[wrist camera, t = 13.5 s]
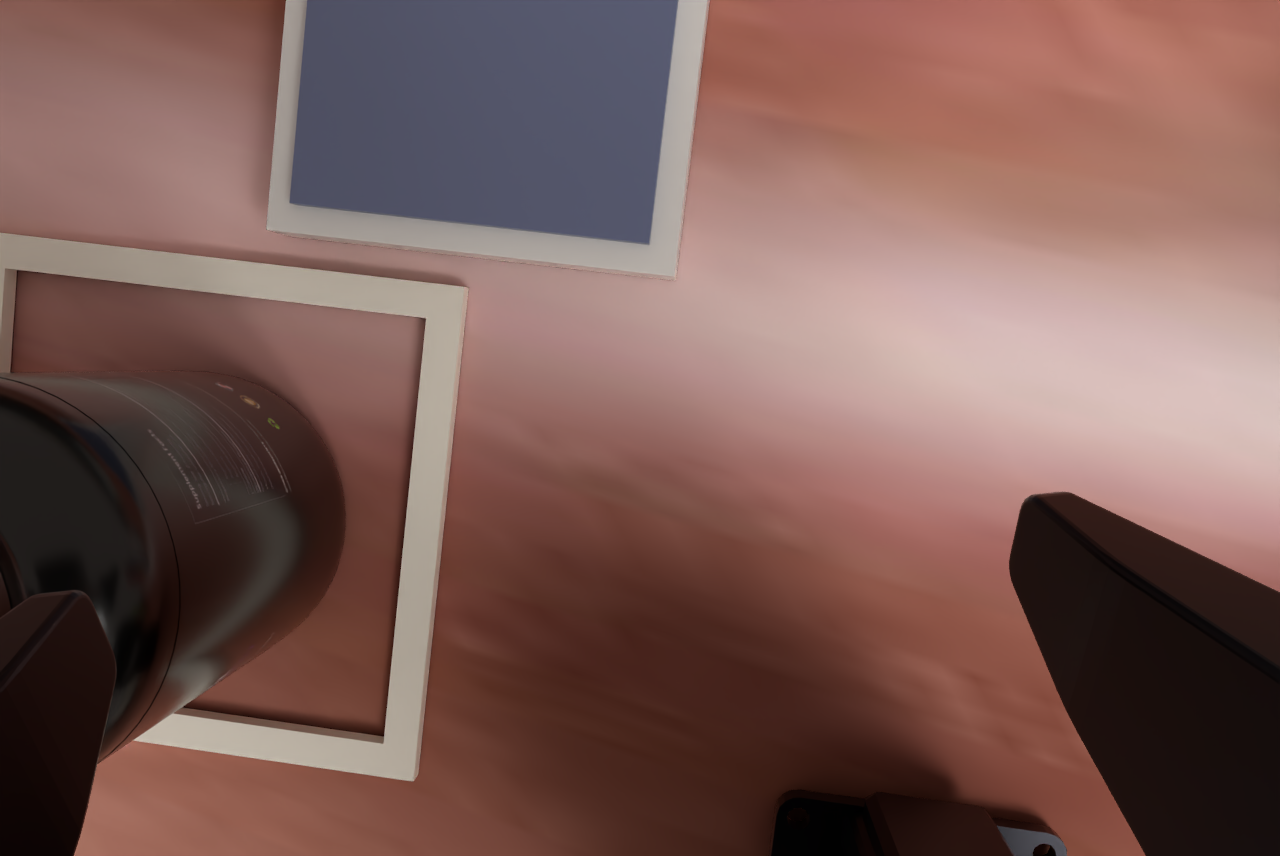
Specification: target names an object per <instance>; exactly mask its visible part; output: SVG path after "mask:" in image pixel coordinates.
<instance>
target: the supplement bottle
mask: <svg viewBox="0 0 1280 856" xmlns="http://www.w3.org/2000/svg"><path fill="white" fill-rule="evenodd" d="M345 529H346V512H345V500H344V495H343V490H342V485H341V481H340V478H339V475H338V472H337V469H336V466H335V464H334V461H333V459H332V457H331V455H330V453H329V451H328V449H327V447H326V446H325V444H324V443H323V441H322V439H321V438H320V436H319V435H318V434H317V432H316V431H315V430H314V428H313V427H312V426H311V425H310V423H309V422H308V421H307V420H306V419H305V418H304V417H303V416H302V415H301V414H300V413H299V412H298V411H297V410H295V409H294V408H293V407H292V406H291V405H290V404H288V403H287V402H286V401H284V400H283V399H281V398H280V397H279V396H277V395H276V394H274V393H272V392H270V391H269V390H267V389H265V388H263V387H261V386H259V385H257V384H255V383H252V382H250V381H247V380H244V379H241V378H238V377H234V376H230V375H225V374H220V373H212V372H202V371H95V372H10V373H0V618H1V617H2V616H3V615H5V614H6V613H8V612H9V611H10V610H12V609H13V608H15V607H16V606H18V605H19V604H20V603H22V602H23V601H25V600H26V599H28V598H29V597H31V596H33V595H36V594H40V593H49V592H59V591H69V590H79V591H82V592H84V593H86V595H87V596H88V597H89V598H90V599H91V601H92V603H93V605H94V607H95V610H96V612H97V615H98V617H99V619H100V622H101V624H102V626H103V629H104V631H105V633H106V636H107V638H108V640H109V643H110V645H111V648H112V650H113V653H114V656H115V660H116V680H115V686H114V690H113V695H112V699H111V704H110V708H109V713H108V717H107V722H106V726H105V731H104V735H103V740H102V744H101V749H100V753H99V758H98V762H97V764H98V763H100V762H101V761H103V760H104V759H106V758H107V757H109V756H110V755H112V754H113V753H115V752H116V751H118V750H119V749H121V748H122V747H124V746H125V745H127V744H128V743H130V742H131V741H133V740H134V739H136V738H137V737H139V736H140V735H142V734H143V733H145V732H146V731H148V730H149V729H151V728H152V727H154V726H155V725H156V724H158V723H159V722H161V721H162V720H164V719H165V718H167V717H168V716H170V715H171V714H173V713H174V712H176V711H177V710H179V709H180V708H182V707H183V706H185V705H186V704H188V703H189V702H191V701H192V700H194V699H195V698H197V697H198V696H199V695H201V694H202V693H204V692H205V691H207V690H208V689H210V688H211V687H213V686H214V685H216V684H217V683H219V682H220V681H222V680H223V679H225V678H226V677H228V676H229V675H231V674H232V673H234V672H235V671H237V670H238V669H240V668H241V667H243V666H244V665H245V664H247V663H248V662H250V661H251V660H253V659H254V658H256V657H257V656H259V655H260V654H262V653H263V652H265V651H266V650H268V649H269V648H270V647H272V646H273V645H274V644H276V643H277V642H279V641H280V640H281V639H283V638H284V637H285V636H287V635H288V634H289V633H290V632H292V631H293V630H294V629H295V628H296V627H298V626H299V625H300V624H301V623H302V622H303V621H304V620H305V619H306V618H307V617H308V616H309V615H310V613H311V612H312V611H313V610H314V609H315V608H316V606H317V605H318V604H319V602H320V601H321V599H322V598H323V596H324V595H325V593H326V591H327V590H328V588H329V586H330V584H331V582H332V580H333V577H334V575H335V573H336V570H337V567H338V564H339V561H340V558H341V554H342V549H343V545H344V538H345Z"/></svg>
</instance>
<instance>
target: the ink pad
mask: <svg viewBox="0 0 1280 856" xmlns="http://www.w3.org/2000/svg"><path fill="white" fill-rule="evenodd" d="M709 3H710V0H286V6H285V17H284V29H283V41H282V52H281V64H280V75H279V87H278V98H277V110H276V122H275V133H274V145H273V156H272V168H271V179H270V191H269V202H268V214H267V226H266V230H269V231H272V232H276V233H279V234H283V235H286V236H290V237H298V238H307V239H316V240H324V241H333V242H342V243H350V244H359V245H368V246H377V247H385V248H394V249H403V250H411V251H420V252H429V253H438V254H446V255H455V256H464V257H472V258H481V259H490V260H499V261H507V262H516V263H525V264H533V265H542V266H551V267H560V268H568V269H577V270H586V271H594V272H603V273H612V274H621V275H629V276H638V277H647V278H655V279H664V280H673V281H676V276H677V268H678V260H679V251H680V243H681V235H682V226H683V218H684V210H685V202H686V193H687V185H688V177H689V168H690V160H691V152H692V143H693V135H694V127H695V119H696V110H697V102H698V94H699V85H700V77H701V69H702V61H703V52H704V44H705V36H706V27H707V19H708V11H709Z"/></svg>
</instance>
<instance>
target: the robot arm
mask: <svg viewBox="0 0 1280 856" xmlns="http://www.w3.org/2000/svg"><path fill="white" fill-rule="evenodd" d="M1009 570H1010V576H1011V581H1012V583H1013V586H1014V589H1015V591H1016V593H1017V596H1018V598H1019V601H1020V603H1021V605H1022V608H1023V610H1024V613H1025V615H1026V617H1027V620H1028V622H1029V624H1030V627H1031V629H1032V632H1033V634H1034V636H1035V639H1036V641H1037V644H1038V646H1039V648H1040V651H1041V653H1042V656H1043V658H1044V660H1045V663H1046V665H1047V667H1048V670H1049V672H1050V675H1051V677H1052V679H1053V682H1054V684H1055V687H1056V689H1057V691H1058V694H1059V696H1060V698H1061V700H1062V702H1063V704H1064V707H1065V709H1066V711H1067V713H1068V715H1069V717H1070V719H1071V721H1072V723H1073V725H1074V726H1075V728H1076V730H1077V732H1078V734H1079V736H1080V738H1081V740H1082V741H1083V743H1084V745H1085V747H1086V749H1087V750H1088V752H1089V754H1090V756H1091V758H1092V759H1093V761H1094V763H1095V765H1096V767H1097V768H1098V770H1099V772H1100V774H1101V776H1102V777H1103V779H1104V781H1105V783H1106V785H1107V786H1108V788H1109V790H1110V792H1111V794H1112V795H1113V797H1114V799H1115V801H1116V803H1117V804H1118V806H1119V808H1120V810H1121V812H1122V813H1123V815H1124V817H1125V819H1126V821H1127V822H1128V824H1129V826H1130V828H1131V830H1132V831H1133V833H1134V835H1135V837H1136V839H1137V840H1138V842H1139V844H1140V846H1141V848H1142V849H1143V851H1144V853H1145V855H1146V856H1280V592H1278V591H1276V590H1274V589H1272V588H1270V587H1268V586H1266V585H1263V584H1261V583H1259V582H1257V581H1255V580H1253V579H1251V578H1249V577H1247V576H1245V575H1242V574H1240V573H1238V572H1236V571H1234V570H1232V569H1230V568H1228V567H1226V566H1224V565H1221V564H1219V563H1217V562H1215V561H1213V560H1211V559H1209V558H1207V557H1205V556H1203V555H1200V554H1198V553H1196V552H1194V551H1192V550H1190V549H1188V548H1186V547H1184V546H1181V545H1179V544H1177V543H1175V542H1173V541H1171V540H1169V539H1167V538H1165V537H1163V536H1160V535H1158V534H1156V533H1154V532H1152V531H1150V530H1148V529H1146V528H1144V527H1142V526H1139V525H1137V524H1135V523H1133V522H1131V521H1129V520H1127V519H1125V518H1123V517H1121V516H1118V515H1116V514H1114V513H1112V512H1110V511H1108V510H1106V509H1104V508H1102V507H1100V506H1097V505H1095V504H1093V503H1091V502H1089V501H1087V500H1085V499H1083V498H1081V497H1079V496H1076V495H1074V494H1072V493H1069V492H1053V493H1044V494H1034V495H1031V496H1029V497H1027V498H1026V499H1025V500H1024V502H1023V503H1022V506H1021V509H1020V513H1019V517H1018V522H1017V526H1016V531H1015V536H1014V540H1013V545H1012V549H1011V554H1010V560H1009ZM115 680H116V660H115V656H114V653H113V650H112V648H111V645H110V643H109V640H108V638H107V636H106V633H105V631H104V629H103V626H102V624H101V622H100V619H99V617H98V615H97V612H96V610H95V607H94V605H93V603H92V601H91V599H90V598H89V597H88V596H87V595H86V593H84V592H82V591H79V590H69V591H59V592H49V593H40V594H36V595H33V596H31V597H29V598H28V599H26V600H25V601H23V602H22V603H20V604H19V605H18V606H16V607H15V608H13V609H12V610H10V611H9V612H8V613H6V614H5V615H3V616H2V617H1V618H0V856H74V853H75V850H76V847H77V844H78V841H79V838H80V834H81V831H82V827H83V823H84V819H85V815H86V811H87V808H88V803H89V799H90V794H91V790H92V785H93V780H94V776H95V771H96V767H97V762H98V758H99V753H100V749H101V744H102V740H103V735H104V731H105V726H106V722H107V717H108V713H109V708H110V704H111V699H112V695H113V690H114V686H115ZM794 808H802V809H804V810H806V811H807V816H806V818H804V819H803V820H801V821H793V820H791V819H789V817H788V814H789V812H790V811H791V810H793V809H794ZM1039 844H1049V845H1050V848H1049V850H1048V852H1047V853H1046V854H1044V855H1043V856H1067V849H1066V847H1065V845H1064V843H1063V841H1062V840H1061V839H1060V837H1059V836H1058V835H1057V833H1056V832H1055V831H1053V830H1052V829H1051V828H1050V827H1047V826H1044V825H1041V824H1034V823H1027V822H1020V821H1013V820H1006V819H999V818H992V817H990V815H989V814H988V813H987V812H986V810H985V809H984V808H982V807H979V806H973V805H966V804H959V803H952V802H945V801H938V800H931V799H924V798H917V797H910V796H903V795H896V794H889V793H882V792H876V793H874V794H872V795H870V796H868V797H867V798H866V799H860V798H853V797H846V796H839V795H832V794H826V793H819V792H812V791H805V790H790V791H788V792H786V793H784V794H783V795H782V796H781V797H780V798H779V799H778V801H777V804H776V807H775V813H774V820H773V827H772V835H771V842H770V850H769V856H1034V855H1033V851H1034V849H1035V847H1036V846H1038V845H1039Z"/></svg>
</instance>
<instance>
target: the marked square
mask: <svg viewBox="0 0 1280 856" xmlns="http://www.w3.org/2000/svg"><path fill="white" fill-rule="evenodd" d="M17 270H24V271H32V272H41V273H49V274H57V275H66V276H74V277H83V278H91V279H100V280H108V281H116V282H125V283H133V284H142V285H150V286H159V287H167V288H175V289H184V290H192V291H201V292H209V293H217V294H226V295H234V296H243V297H251V298H260V299H268V300H276V301H285V302H293V303H302V304H310V305H318V306H327V307H335V308H344V309H352V310H361V311H369V312H377V313H386V314H394V315H403V316H411V317H420V318H426V324H425V334H424V344H423V354H422V364H421V374H420V384H419V394H418V404H417V414H416V424H415V434H414V444H413V454H412V464H411V474H410V484H409V494H408V504H407V514H406V524H405V534H404V543H403V553H402V563H401V573H400V583H399V593H398V603H397V613H396V623H395V633H394V643H393V653H392V663H391V673H390V683H389V693H388V703H387V713H386V723H385V733H384V737H383V736H376V735H369V734H363V733H356V732H349V731H342V730H335V729H328V728H321V727H314V726H307V725H300V724H293V723H286V722H279V721H272V720H266V719H259V718H252V717H245V716H238V715H231V714H224V713H217V712H210V711H203V710H196V709H189V708H180V709H179V710H177V711H176V712H174V713H173V714H171V715H170V716H168V717H167V718H165V719H164V720H162V721H161V722H159V723H158V724H156V725H155V726H154V727H152V728H151V729H149V730H148V731H146V732H145V733H143V734H142V735H140V736H139V737H137V738H136V739H134V740H133V741H140V742H147V743H154V744H161V745H167V746H174V747H181V748H188V749H195V750H201V751H208V752H215V753H222V754H229V755H235V756H242V757H249V758H256V759H263V760H270V761H276V762H283V763H290V764H297V765H304V766H310V767H317V768H324V769H331V770H338V771H344V772H351V773H358V774H365V775H372V776H379V777H385V778H392V779H399V780H406V781H414V780H415V778H416V777H417V776H418V773H419V763H420V753H421V744H422V734H423V725H424V715H425V705H426V696H427V686H428V676H429V667H430V657H431V647H432V638H433V628H434V618H435V609H436V599H437V589H438V580H439V570H440V560H441V551H442V541H443V532H444V522H445V512H446V503H447V493H448V483H449V474H450V464H451V454H452V445H453V435H454V425H455V416H456V406H457V396H458V387H459V377H460V367H461V358H462V348H463V339H464V329H465V319H466V310H467V300H468V290H469V288H467V287H462V286H453V285H445V284H436V283H427V282H419V281H410V280H402V279H393V278H385V277H376V276H367V275H359V274H350V273H342V272H333V271H324V270H316V269H307V268H299V267H290V266H282V265H273V264H264V263H256V262H247V261H239V260H230V259H222V258H213V257H204V256H196V255H187V254H179V253H170V252H162V251H153V250H144V249H136V248H127V247H119V246H110V245H102V244H93V243H84V242H76V241H67V240H59V239H50V238H41V237H33V236H24V235H16V234H7V233H0V373H10V369H11V353H12V338H13V323H14V308H15V293H16V278H17Z"/></svg>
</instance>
